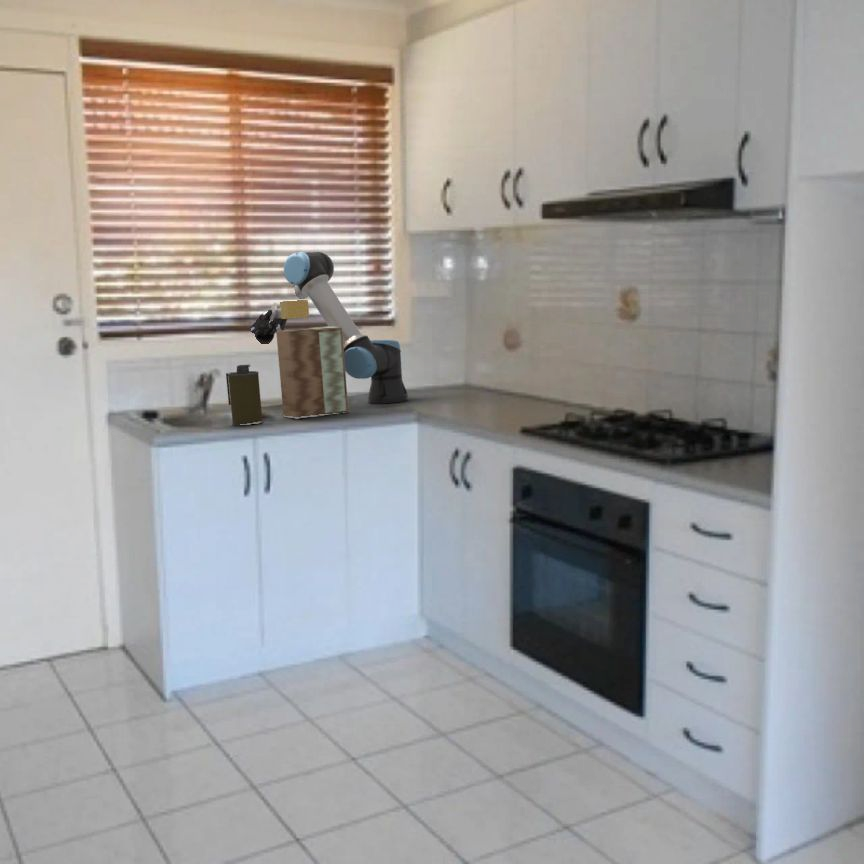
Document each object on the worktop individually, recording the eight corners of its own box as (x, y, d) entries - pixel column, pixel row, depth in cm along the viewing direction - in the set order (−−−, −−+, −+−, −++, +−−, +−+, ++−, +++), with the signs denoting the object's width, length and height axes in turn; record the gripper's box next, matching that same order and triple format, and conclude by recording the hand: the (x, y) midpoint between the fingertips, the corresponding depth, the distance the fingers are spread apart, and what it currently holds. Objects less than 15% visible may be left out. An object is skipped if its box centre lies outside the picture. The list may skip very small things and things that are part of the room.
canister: (266, 420, 350) (261, 362, 347) (258, 425, 340) (253, 365, 337) (235, 422, 351) (230, 364, 348) (227, 426, 341) (221, 367, 338)
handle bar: (282, 317, 377) (280, 301, 376) (309, 317, 357) (307, 299, 356) (262, 318, 373) (260, 302, 372) (288, 318, 353) (286, 301, 352)
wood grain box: (335, 410, 366) (328, 326, 362) (348, 413, 357) (342, 326, 352) (283, 417, 356) (276, 330, 352) (296, 420, 347) (288, 331, 342)
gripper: (283, 344, 389) (303, 313, 370) (244, 348, 381) (262, 316, 362) (278, 327, 392) (297, 295, 373) (239, 331, 384) (256, 298, 365)
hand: (280, 306), depth 368 cm, fingers closed on handle bar, 3 cm apart
